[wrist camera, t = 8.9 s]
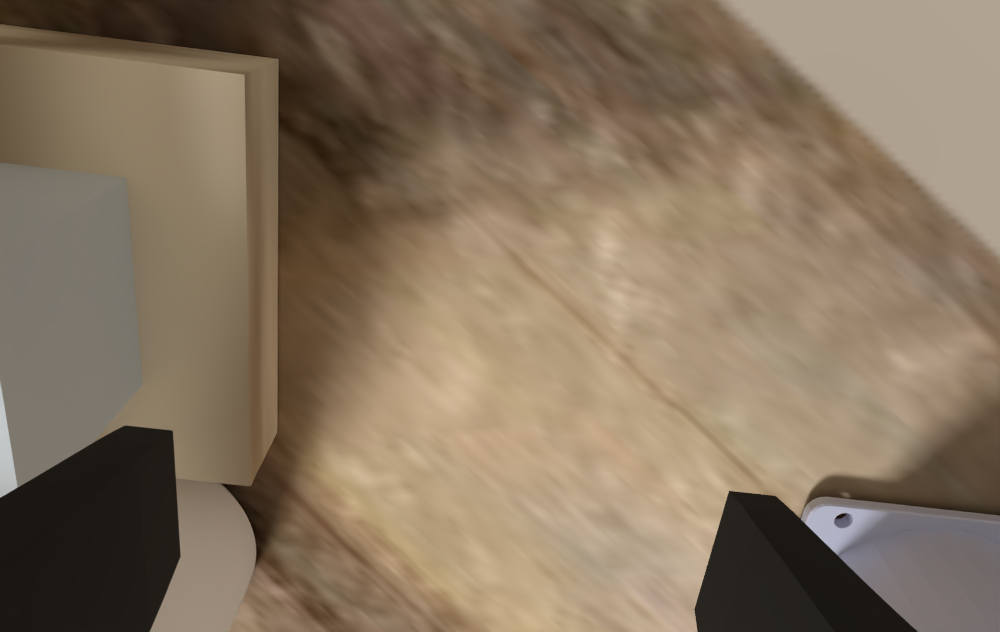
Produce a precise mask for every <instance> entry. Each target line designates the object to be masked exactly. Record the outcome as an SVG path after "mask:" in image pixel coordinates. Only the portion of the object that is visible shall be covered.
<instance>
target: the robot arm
mask: <svg viewBox="0 0 1000 632" xmlns="http://www.w3.org/2000/svg"><path fill="white" fill-rule="evenodd" d="M842 513H847V514H846V515H845V517H843V518H841V519H835V518H836V516H838V515H840V514H842ZM180 557H181V554H180V538H179V521H178V505H177V489H176V473H175V457H174V441H173V431H172V430H163V429H154V428H145V427H136V426H126V425H125V426H123V427H121V428H119V429H117V430H115V431H113V432H111V433H109V434H108V435H106V436H104V437H102V438H100V439H99V440H97V441H95V442H94V443H92V444H90V445H88V446H87V447H85V448H83V449H82V450H80V451H78V452H77V453H75V454H73V455H72V456H70V457H68V458H67V459H65V460H63V461H62V462H60V463H58V464H57V465H55V466H53V467H52V468H50V469H48V470H47V471H45V472H43V473H42V474H40V475H38V476H36V477H35V478H33V479H31V480H30V481H28V482H26V483H24V484H23V485H21V486H19V487H18V488H16V489H14V490H13V491H11V492H9V493H7V494H6V495H4V496H2V497H1V498H0V632H150V630H151V628H152V625H153V623H154V621H155V618H156V616H157V614H158V611H159V609H160V607H161V604H162V602H163V599H164V597H165V595H166V592H167V590H168V587H169V584H170V582H171V579H172V577H173V574H174V572H175V569H176V567H177V564H178V562H179V559H180ZM695 616H696V623H697V630H698V632H1000V515H990V514H981V513H972V512H963V511H954V510H944V509H935V508H926V507H917V506H908V505H899V504H889V503H880V502H871V501H862V500H853V499H844V498H834V497H819V498H816V499H813V500H812V501H811V502H809V503H808V504H807V506H806V507H805V509H804V512H803V515H802V518H801V519H800V518H799V517H798V516H797V515H796V514H795V513H794V512H793V511H791V510H790V509H789V508H788V507H787V506H786V505H785V504H784V503H783V502H782V501H780V500H779V499H778V498H777V497H776V496H770V495H761V494H752V493H742V492H733V491H729V494H728V497H727V500H726V504H725V507H724V511H723V514H722V518H721V521H720V524H719V528H718V531H717V535H716V538H715V541H714V545H713V548H712V552H711V555H710V559H709V562H708V565H707V569H706V572H705V576H704V579H703V582H702V586H701V589H700V593H699V596H698V599H697V603H696V606H695Z"/></svg>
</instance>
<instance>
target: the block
mask: <svg viewBox="0 0 1000 632" xmlns="http://www.w3.org/2000/svg"><path fill="white" fill-rule="evenodd" d="M141 386H142V373H141V360H140V347H139V334H138V321H137V309H136V296H135V283H134V270H133V257H132V244H131V231H130V218H129V205H128V192H127V180H126V177H117V176H109V175H101V174H92V173H84V172H76V171H67V170H59V169H51V168H42V167H34V166H26V165H17V164H9V163H1V162H0V498H1V497H2V496H4V495H6V494H7V493H9V492H11V491H13V490H14V489H16V488H18V487H19V486H21V485H23V484H24V483H26V482H28V481H30V480H31V479H33V478H35V477H36V476H38V475H40V474H42V473H43V472H45V471H47V470H48V469H50V468H52V467H53V466H55V465H57V464H58V463H60V462H62V461H63V460H65V459H67V458H68V457H70V456H72V455H73V454H75V453H77V452H78V451H80V450H82V449H83V448H85V447H87V446H88V445H90V444H92V443H93V442H94V441H95V440H96V439H97V437H98V436H99V435H100V434H101V433H102V432H103V430H104V429H105V428H106V427H107V426H108V425H109V423H110V422H111V421H112V420H113V419H114V418H115V416H116V415H117V414H118V413H119V412H120V411H121V409H122V408H123V407H124V406H125V405H126V403H127V402H128V401H129V400H130V399H131V398H132V396H133V395H134V394H135V393H136V392H137V391H138V389H139V388H140V387H141Z"/></svg>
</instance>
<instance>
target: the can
mask: <svg viewBox="0 0 1000 632" xmlns="http://www.w3.org/2000/svg"><path fill="white" fill-rule="evenodd" d="M176 489H177V505H178V521H179V538H180V554H181V557H180V559H179V562H178V564H177V567H176V569H175V572H174V574H173V577H172V579H171V582H170V584H169V587H168V590H167V592H166V595H165V597H164V599H163V602H162V604H161V607H160V609H159V611H158V614H157V616H156V618H155V621H154V623H153V625H152V628H151V630H150V632H230V629H231V627H232V624H233V622H234V620H235V617H236V615H237V612H238V610H239V607H240V605H241V602H242V600H243V597H244V595H245V592H246V590H247V587H248V585H249V582H250V579H251V577H252V574H253V570H254V567H255V562H256V542H255V537H254V533H253V530H252V527H251V524H250V522H249V520H248V518H247V516H246V514H245V512H244V510H243V509H242V507H241V506H240V504H239V503H238V502H237V500H236V499H235V498H234V496H233V495H232V494H231V493H230V492H229V491H228V489H227V488H226V487H225V486H224V485H223V484H222V483H213V482H203V481H194V480H185V479H176Z"/></svg>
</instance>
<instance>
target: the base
mask: <svg viewBox="0 0 1000 632" xmlns="http://www.w3.org/2000/svg"><path fill="white" fill-rule="evenodd" d="M278 81H279V59H275V58H267V57H259V56H251V55H243V54H235V53H227V52H219V51H211V50H203V49H195V48H187V47H179V46H171V45H163V44H155V43H147V42H139V41H131V40H123V39H115V38H107V37H99V36H91V35H83V34H75V33H67V32H59V31H51V30H43V29H35V28H27V27H19V26H11V25H3V24H0V162H1V163H9V164H17V165H26V166H34V167H42V168H51V169H59V170H67V171H76V172H84V173H92V174H101V175H109V176H117V177H126V180H127V192H128V205H129V218H130V231H131V244H132V257H133V270H134V283H135V296H136V309H137V321H138V334H139V347H140V360H141V373H142V386H141V387H140V388H139V389H138V391H137V392H136V393H135V394H134V395H133V396H132V398H131V399H130V400H129V401H128V402H127V403H126V405H125V406H124V407H123V408H122V409H121V411H120V412H119V413H118V414H117V415H116V416H115V418H114V419H113V420H112V421H111V422H110V423H109V425H108V426H107V427H106V428H105V429H104V430H103V432H102V433H101V434H100V435H99V436H98V437H97V439H96V440H95V441H97V440H99V439H100V438H102V437H104V436H106V435H108V434H109V433H111V432H113V431H115V430H117V429H119V428H121V427H123V426H125V425H126V426H136V427H145V428H154V429H163V430H172V431H173V441H174V457H175V473H176V479H185V480H194V481H203V482H213V483H222V484H232V485H241V486H251V484H252V482H253V480H254V478H255V476H256V474H257V472H258V470H259V468H260V466H261V464H262V462H263V460H264V458H265V456H266V454H267V452H268V450H269V448H270V446H271V444H272V442H273V440H274V438H275V436H276V434H277V432H278ZM95 441H94V442H95ZM94 442H93V443H94Z"/></svg>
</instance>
